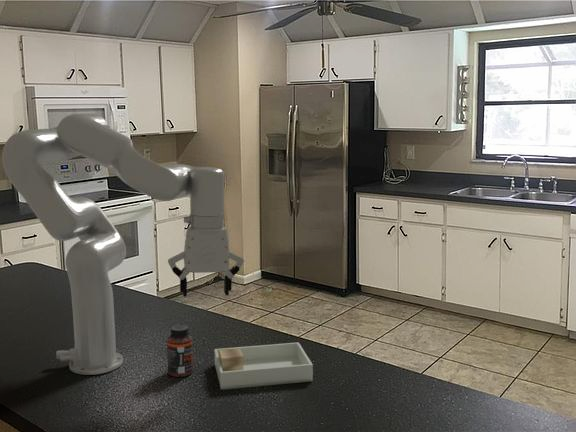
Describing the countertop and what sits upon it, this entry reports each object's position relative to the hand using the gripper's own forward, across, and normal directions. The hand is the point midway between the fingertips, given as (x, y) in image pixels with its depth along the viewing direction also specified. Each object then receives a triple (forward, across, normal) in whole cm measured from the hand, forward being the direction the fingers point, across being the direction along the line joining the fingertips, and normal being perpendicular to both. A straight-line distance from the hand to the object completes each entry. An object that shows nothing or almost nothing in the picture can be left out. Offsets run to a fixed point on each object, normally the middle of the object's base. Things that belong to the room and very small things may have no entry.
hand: (205, 294), depth 143 cm
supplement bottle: (+20, -6, +2) cm, 21 cm away
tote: (+19, +14, -2) cm, 23 cm away
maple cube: (+19, +6, -3) cm, 20 cm away
